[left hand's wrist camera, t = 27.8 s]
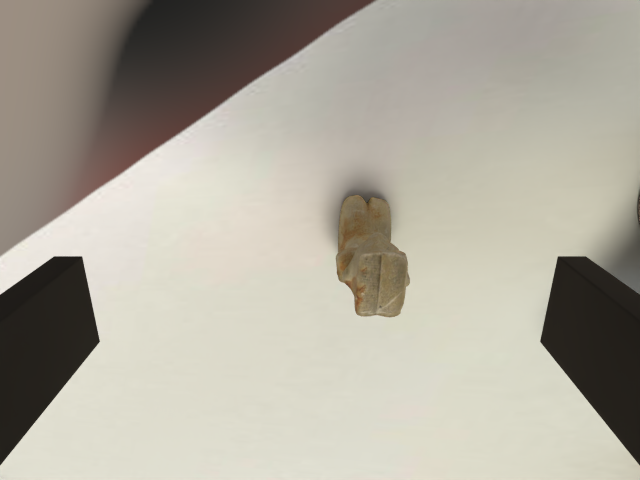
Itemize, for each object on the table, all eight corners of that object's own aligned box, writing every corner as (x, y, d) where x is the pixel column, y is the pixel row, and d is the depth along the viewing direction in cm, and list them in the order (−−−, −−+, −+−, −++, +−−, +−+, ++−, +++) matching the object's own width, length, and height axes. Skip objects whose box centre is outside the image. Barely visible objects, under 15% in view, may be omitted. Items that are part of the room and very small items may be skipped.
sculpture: (397, 196, 43) (433, 257, 29) (383, 263, 46) (411, 349, 32) (337, 188, 43) (346, 246, 29) (327, 256, 46) (330, 340, 32)
